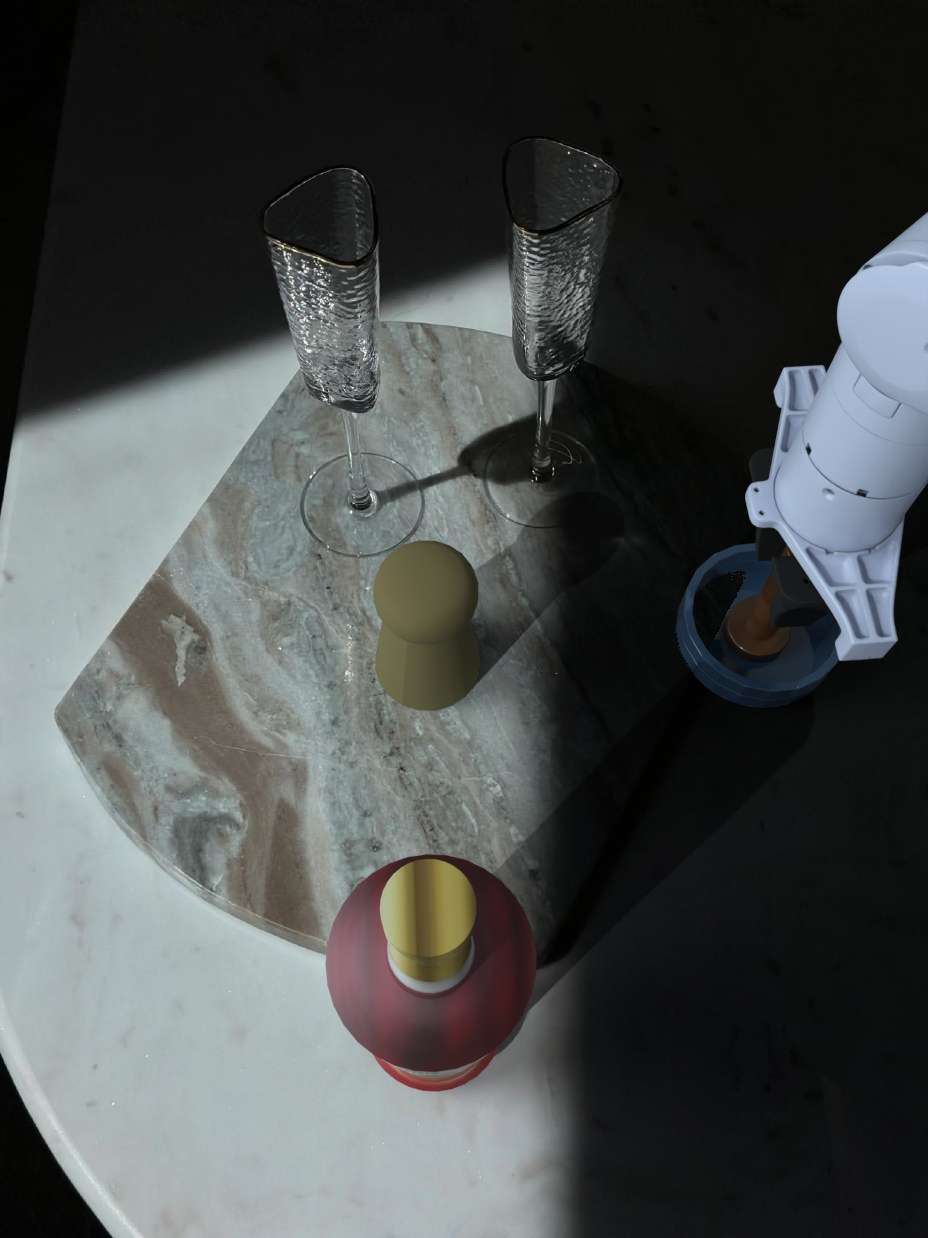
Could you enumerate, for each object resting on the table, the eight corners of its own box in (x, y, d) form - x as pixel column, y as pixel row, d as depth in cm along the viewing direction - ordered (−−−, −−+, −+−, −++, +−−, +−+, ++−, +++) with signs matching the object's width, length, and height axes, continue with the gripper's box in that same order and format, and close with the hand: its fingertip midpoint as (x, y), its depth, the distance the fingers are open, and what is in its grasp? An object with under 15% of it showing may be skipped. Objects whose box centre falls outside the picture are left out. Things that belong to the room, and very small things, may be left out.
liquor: (361, 1102, 55) (292, 1056, 30) (359, 945, 58) (295, 784, 33) (513, 1094, 56) (572, 1041, 30) (503, 938, 59) (549, 773, 33)
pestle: (796, 622, 66) (852, 537, 57) (772, 673, 65) (826, 594, 56) (738, 594, 67) (785, 506, 58) (713, 644, 65) (757, 562, 56)
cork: (429, 596, 67) (427, 498, 57) (503, 665, 65) (514, 577, 55) (352, 663, 65) (336, 574, 55) (426, 736, 63) (423, 658, 53)
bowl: (854, 610, 67) (871, 587, 64) (796, 738, 64) (812, 719, 61) (712, 543, 69) (723, 517, 66) (648, 664, 65) (657, 643, 63)
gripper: (743, 308, 51) (684, 474, 63) (813, 604, 45) (733, 723, 57) (899, 299, 51) (810, 465, 64) (990, 591, 45) (872, 712, 57)
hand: (782, 587), depth 60 cm, fingers open, 3 cm apart
